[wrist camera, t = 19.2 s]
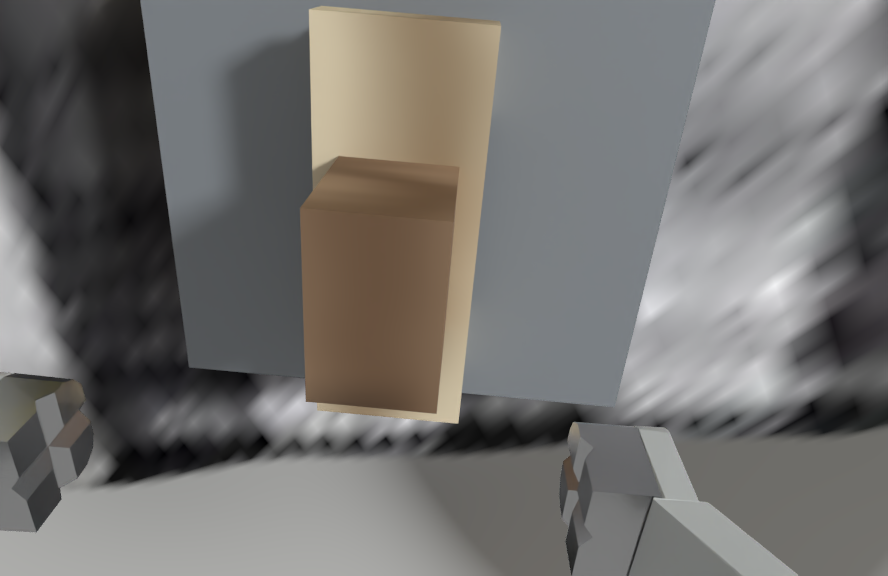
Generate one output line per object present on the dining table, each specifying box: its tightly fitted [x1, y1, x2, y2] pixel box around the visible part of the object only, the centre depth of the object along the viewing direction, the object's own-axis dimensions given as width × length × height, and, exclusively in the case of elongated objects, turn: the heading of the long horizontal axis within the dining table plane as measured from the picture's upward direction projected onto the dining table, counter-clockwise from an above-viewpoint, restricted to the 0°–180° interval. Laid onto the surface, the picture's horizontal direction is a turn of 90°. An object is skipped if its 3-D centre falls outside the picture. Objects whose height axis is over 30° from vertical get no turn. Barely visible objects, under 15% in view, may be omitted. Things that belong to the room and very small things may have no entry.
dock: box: [140, 0, 715, 407], centre depth 22 cm, size 16×14×4 cm
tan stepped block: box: [309, 6, 501, 424], centre depth 19 cm, size 5×12×3 cm, turn 176°
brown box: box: [300, 156, 460, 414], centre depth 16 cm, size 3×5×4 cm, turn 175°
